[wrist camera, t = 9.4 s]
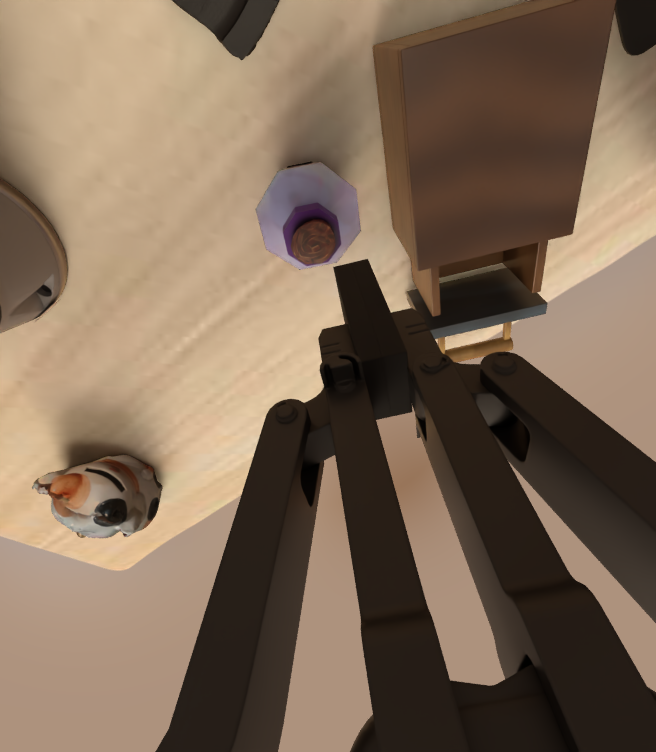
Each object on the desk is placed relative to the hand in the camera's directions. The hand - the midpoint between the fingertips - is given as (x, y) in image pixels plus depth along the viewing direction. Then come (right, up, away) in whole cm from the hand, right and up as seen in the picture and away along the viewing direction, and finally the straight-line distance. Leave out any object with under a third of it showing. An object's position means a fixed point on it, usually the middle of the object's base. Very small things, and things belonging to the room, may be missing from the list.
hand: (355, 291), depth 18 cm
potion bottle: (-3, +13, +20) cm, 24 cm away
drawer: (+12, +9, +24) cm, 29 cm away
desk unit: (+10, +18, +17) cm, 27 cm away
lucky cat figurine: (-34, -18, +43) cm, 57 cm away
